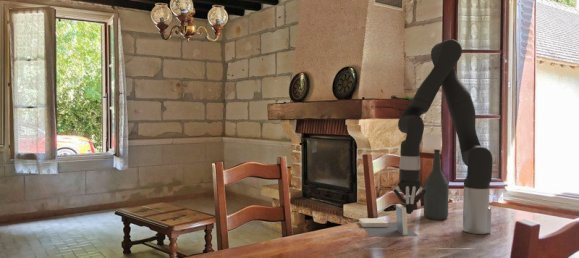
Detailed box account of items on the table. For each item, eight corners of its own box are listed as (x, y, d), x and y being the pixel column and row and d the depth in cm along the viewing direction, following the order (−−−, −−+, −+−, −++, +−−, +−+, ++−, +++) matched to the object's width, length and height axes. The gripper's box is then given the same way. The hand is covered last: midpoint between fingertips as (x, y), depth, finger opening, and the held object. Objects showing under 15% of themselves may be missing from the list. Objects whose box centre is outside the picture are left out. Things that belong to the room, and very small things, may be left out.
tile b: (401, 229, 180) (400, 203, 180) (407, 234, 172) (406, 208, 172) (397, 229, 180) (395, 204, 180) (403, 235, 172) (401, 208, 172)
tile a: (383, 218, 192) (359, 218, 191) (388, 222, 184) (363, 222, 183) (383, 222, 192) (359, 222, 191) (388, 227, 184) (363, 227, 183)
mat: (401, 223, 193) (401, 222, 193) (418, 237, 171) (418, 236, 171) (358, 223, 192) (358, 222, 192) (370, 237, 170) (370, 236, 170)
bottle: (419, 217, 204) (420, 149, 203) (431, 214, 211) (432, 148, 210) (440, 221, 197) (442, 150, 196) (452, 218, 203) (453, 149, 202)
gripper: (423, 167, 179) (422, 211, 180) (389, 166, 179) (388, 211, 179) (430, 169, 172) (429, 215, 172) (394, 169, 171) (393, 215, 172)
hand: (408, 213), depth 176 cm, fingers closed
